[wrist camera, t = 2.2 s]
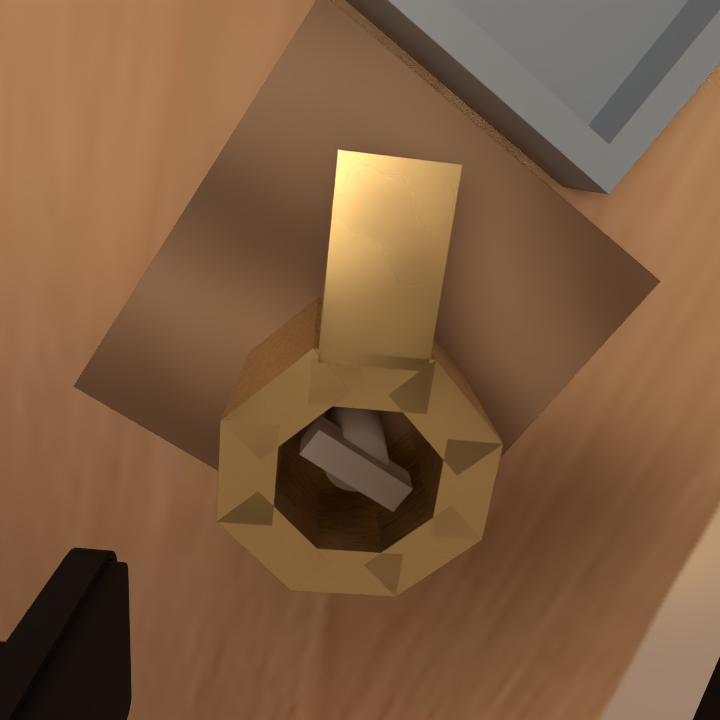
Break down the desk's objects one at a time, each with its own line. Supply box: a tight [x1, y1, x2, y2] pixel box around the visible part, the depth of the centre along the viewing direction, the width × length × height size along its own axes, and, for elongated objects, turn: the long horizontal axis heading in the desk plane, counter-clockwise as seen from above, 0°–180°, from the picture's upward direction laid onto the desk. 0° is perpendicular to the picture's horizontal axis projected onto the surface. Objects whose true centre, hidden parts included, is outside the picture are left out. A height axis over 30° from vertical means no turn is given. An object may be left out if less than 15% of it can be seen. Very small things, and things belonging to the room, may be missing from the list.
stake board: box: [74, 0, 660, 512], centre depth 16 cm, size 13×12×5 cm
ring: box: [217, 149, 503, 597], centre depth 15 cm, size 10×6×4 cm, turn 174°
